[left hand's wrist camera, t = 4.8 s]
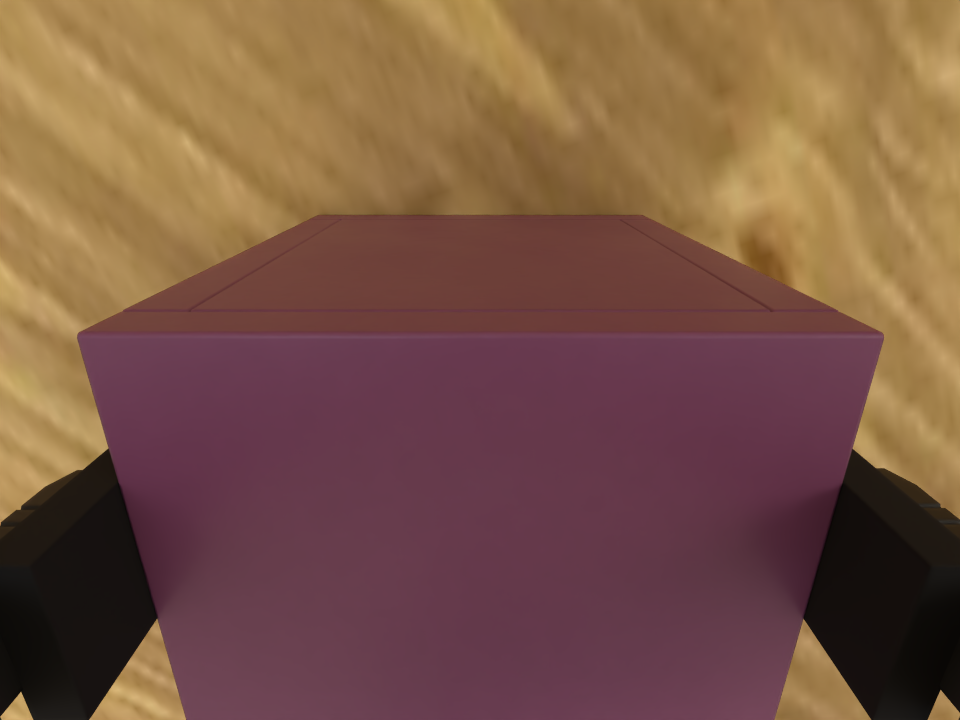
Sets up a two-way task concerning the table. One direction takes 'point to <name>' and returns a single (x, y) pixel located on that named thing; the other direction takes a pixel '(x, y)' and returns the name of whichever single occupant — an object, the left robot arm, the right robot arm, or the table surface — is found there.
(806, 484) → the purple rectangular block
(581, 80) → the table surface
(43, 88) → the table surface
